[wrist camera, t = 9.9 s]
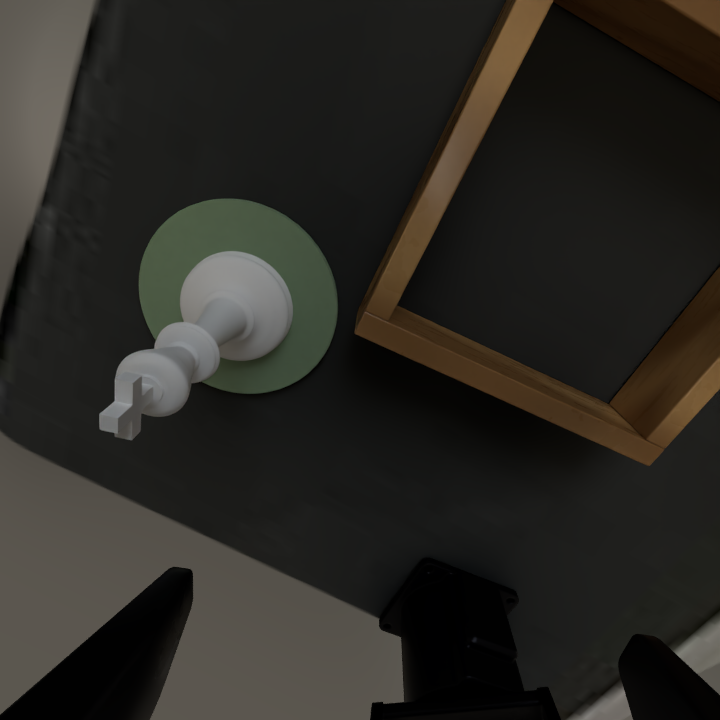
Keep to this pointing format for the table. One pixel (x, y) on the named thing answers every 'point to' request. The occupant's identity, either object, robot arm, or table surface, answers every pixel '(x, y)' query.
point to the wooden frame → (439, 182)
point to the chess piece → (202, 338)
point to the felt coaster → (266, 241)
